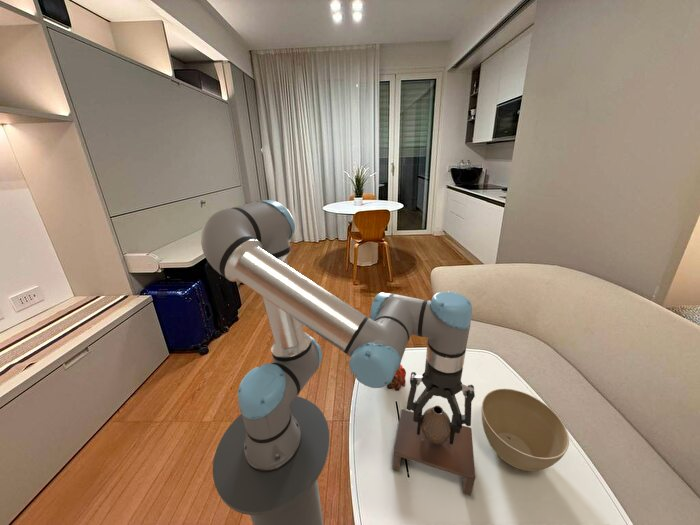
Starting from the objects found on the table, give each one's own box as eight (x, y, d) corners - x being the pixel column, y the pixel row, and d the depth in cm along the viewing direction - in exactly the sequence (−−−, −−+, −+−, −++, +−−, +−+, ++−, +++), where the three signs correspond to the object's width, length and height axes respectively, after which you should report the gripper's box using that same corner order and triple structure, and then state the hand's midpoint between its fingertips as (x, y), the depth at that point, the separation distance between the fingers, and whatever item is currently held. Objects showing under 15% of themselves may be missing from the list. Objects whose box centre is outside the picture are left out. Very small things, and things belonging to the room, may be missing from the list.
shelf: (392, 469, 66) (393, 451, 64) (400, 425, 77) (401, 408, 74) (470, 496, 61) (475, 477, 58) (467, 445, 71) (471, 427, 68)
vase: (414, 434, 66) (416, 409, 62) (430, 416, 70) (433, 392, 66) (439, 456, 61) (443, 430, 57) (454, 435, 65) (459, 410, 62)
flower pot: (460, 432, 74) (466, 401, 70) (508, 410, 80) (516, 380, 75) (518, 506, 59) (531, 472, 54) (572, 472, 65) (588, 439, 60)
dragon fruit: (394, 402, 86) (388, 378, 97) (416, 388, 85) (407, 365, 96) (378, 385, 84) (374, 362, 96) (400, 370, 83) (393, 349, 94)
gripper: (493, 359, 57) (477, 431, 65) (400, 341, 63) (397, 410, 72) (499, 386, 50) (480, 463, 59) (394, 363, 56) (391, 436, 65)
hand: (434, 433), depth 65 cm, fingers closed on vase, 7 cm apart
